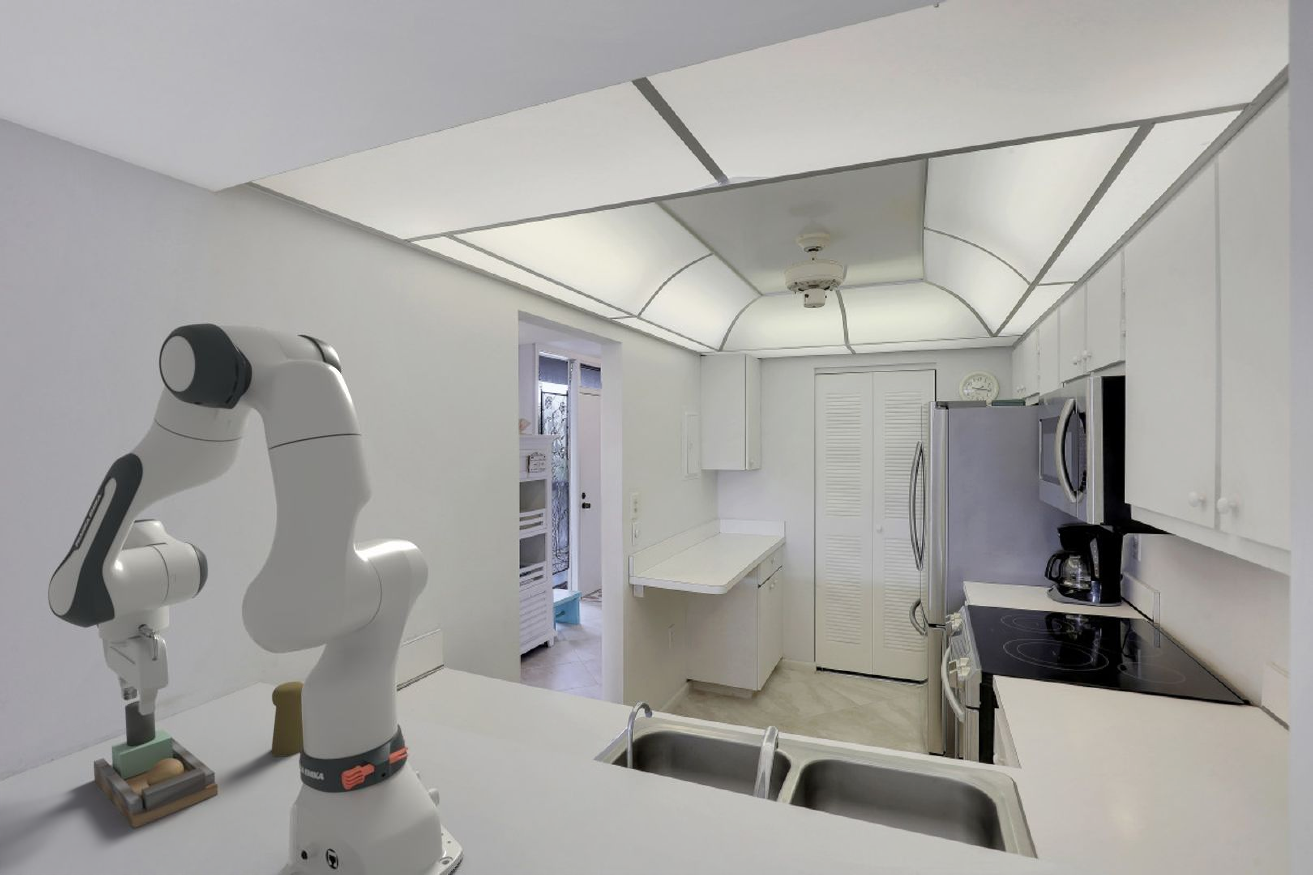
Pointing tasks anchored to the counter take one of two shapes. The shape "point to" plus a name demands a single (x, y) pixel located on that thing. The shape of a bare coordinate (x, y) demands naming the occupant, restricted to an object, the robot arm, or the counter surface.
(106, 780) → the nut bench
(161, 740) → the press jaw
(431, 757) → the counter surface
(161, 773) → the walnut
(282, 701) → the cork
